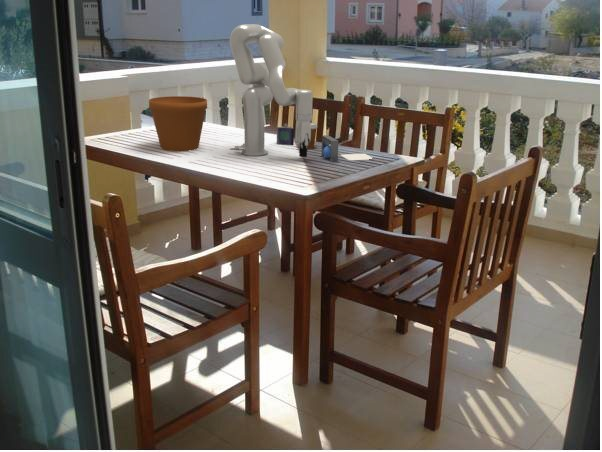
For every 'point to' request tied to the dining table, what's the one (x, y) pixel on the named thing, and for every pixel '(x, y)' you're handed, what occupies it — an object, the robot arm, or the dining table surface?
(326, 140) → the bridge
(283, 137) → the flask
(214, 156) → the dining table surface
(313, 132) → the disposable coffee cup
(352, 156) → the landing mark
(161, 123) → the flowerpot
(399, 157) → the dining table surface
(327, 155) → the ball
